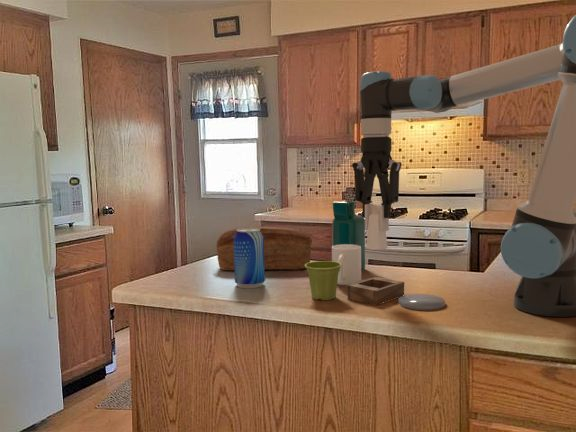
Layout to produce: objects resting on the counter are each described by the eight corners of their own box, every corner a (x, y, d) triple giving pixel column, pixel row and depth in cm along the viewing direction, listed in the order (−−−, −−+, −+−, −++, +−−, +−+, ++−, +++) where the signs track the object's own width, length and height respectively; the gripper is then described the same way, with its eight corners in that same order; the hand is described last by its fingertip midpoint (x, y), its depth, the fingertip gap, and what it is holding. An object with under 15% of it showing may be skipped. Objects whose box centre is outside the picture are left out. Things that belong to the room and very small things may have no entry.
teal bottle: (344, 266, 178) (343, 198, 176) (367, 268, 174) (367, 199, 171) (328, 271, 171) (327, 201, 168) (352, 274, 166) (351, 202, 163)
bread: (313, 271, 172) (312, 229, 171) (215, 273, 172) (213, 230, 171) (311, 263, 184) (311, 223, 183) (220, 265, 185) (218, 225, 183)
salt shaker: (361, 248, 139) (361, 205, 137) (373, 245, 143) (373, 203, 141) (379, 250, 135) (379, 206, 134) (391, 247, 139) (391, 204, 138)
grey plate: (453, 303, 134) (453, 299, 133) (429, 313, 126) (429, 308, 126) (414, 295, 141) (414, 291, 141) (389, 304, 133) (389, 300, 133)
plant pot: (315, 304, 135) (314, 269, 134) (299, 295, 144) (298, 262, 143) (348, 299, 139) (348, 265, 138) (331, 291, 147) (330, 259, 146)
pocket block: (404, 295, 142) (404, 282, 141) (376, 305, 133) (376, 291, 133) (375, 289, 148) (375, 276, 147) (347, 298, 139) (347, 285, 139)
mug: (354, 289, 148) (353, 252, 147) (324, 287, 151) (324, 250, 150) (364, 279, 159) (364, 244, 158) (336, 278, 162) (336, 243, 161)
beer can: (271, 284, 155) (269, 229, 153) (249, 290, 149) (247, 232, 147) (250, 280, 161) (249, 226, 159) (229, 286, 155) (227, 230, 153)
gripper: (414, 135, 132) (414, 231, 135) (357, 137, 144) (358, 225, 147) (396, 135, 127) (396, 234, 130) (339, 137, 139) (341, 229, 142)
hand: (376, 229), depth 138 cm, fingers closed on salt shaker, 4 cm apart
